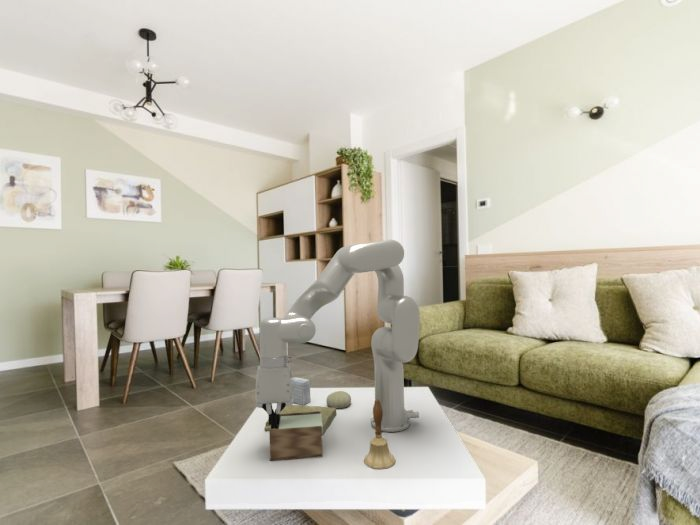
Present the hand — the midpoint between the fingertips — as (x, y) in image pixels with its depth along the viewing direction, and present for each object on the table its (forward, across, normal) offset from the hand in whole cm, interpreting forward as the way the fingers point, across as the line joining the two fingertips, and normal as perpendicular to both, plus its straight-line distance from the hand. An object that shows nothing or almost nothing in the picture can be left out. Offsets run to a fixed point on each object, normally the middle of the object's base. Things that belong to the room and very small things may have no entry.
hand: (274, 426), depth 104 cm
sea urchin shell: (+7, -21, -32) cm, 39 cm away
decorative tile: (+8, -7, -18) cm, 21 cm away
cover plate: (+1, -8, 0) cm, 8 cm away
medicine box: (+7, -6, -38) cm, 39 cm away
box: (+7, -6, 0) cm, 9 cm away
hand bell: (+7, -28, +10) cm, 31 cm away
